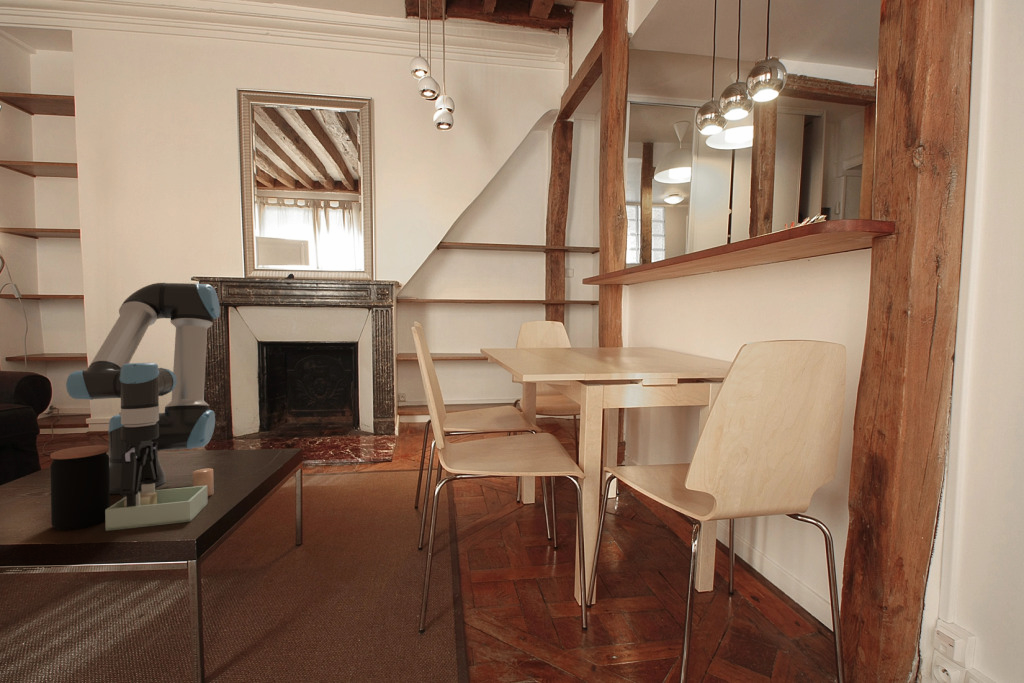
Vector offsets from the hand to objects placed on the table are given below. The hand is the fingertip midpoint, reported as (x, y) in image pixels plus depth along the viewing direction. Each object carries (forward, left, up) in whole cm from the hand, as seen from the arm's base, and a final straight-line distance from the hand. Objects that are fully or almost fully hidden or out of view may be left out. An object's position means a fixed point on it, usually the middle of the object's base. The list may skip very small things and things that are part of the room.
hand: (141, 514), depth 117 cm
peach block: (-16, +9, -1) cm, 18 cm away
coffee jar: (-2, -13, -1) cm, 13 cm away
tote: (0, +4, -1) cm, 4 cm away
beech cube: (0, 0, 0) cm, 0 cm away
